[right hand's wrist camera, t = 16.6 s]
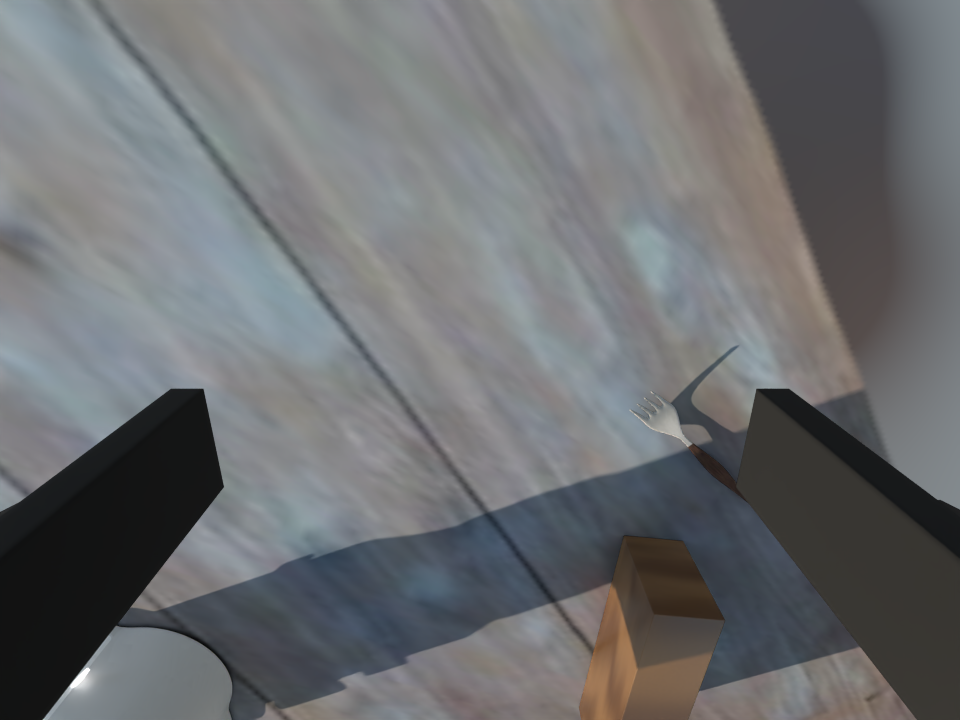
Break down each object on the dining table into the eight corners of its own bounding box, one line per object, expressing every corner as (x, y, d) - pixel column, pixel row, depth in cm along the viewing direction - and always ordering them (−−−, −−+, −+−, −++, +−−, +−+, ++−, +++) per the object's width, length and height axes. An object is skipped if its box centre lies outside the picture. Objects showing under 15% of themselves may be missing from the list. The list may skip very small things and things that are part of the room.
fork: (740, 512, 46) (751, 528, 44) (621, 401, 42) (627, 412, 40) (765, 494, 45) (777, 509, 44) (646, 379, 42) (654, 389, 40)
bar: (623, 535, 47) (653, 614, 39) (683, 540, 47) (725, 620, 39) (578, 707, 55) (596, 802, 47) (629, 711, 56) (655, 806, 47)
